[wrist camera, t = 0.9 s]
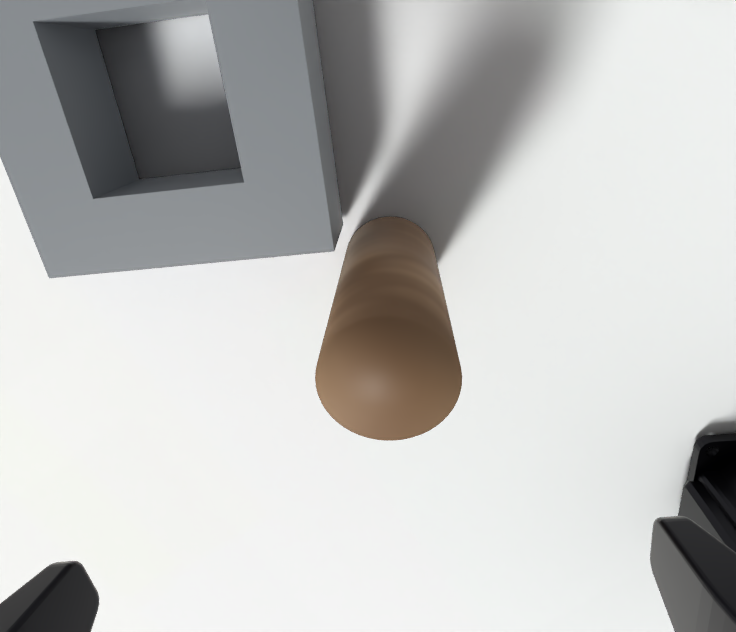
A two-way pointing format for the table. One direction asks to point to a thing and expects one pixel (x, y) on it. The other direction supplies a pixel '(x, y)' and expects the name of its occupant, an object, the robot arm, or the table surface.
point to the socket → (177, 192)
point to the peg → (389, 337)
